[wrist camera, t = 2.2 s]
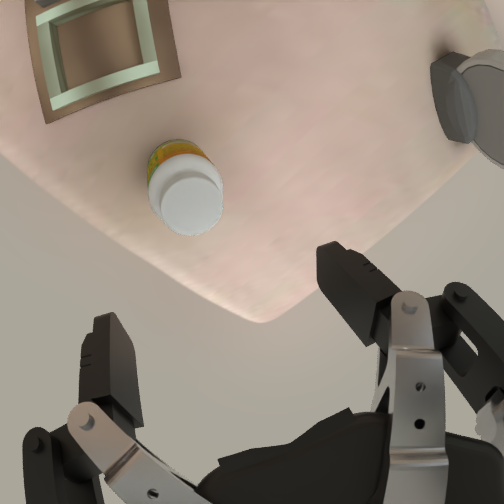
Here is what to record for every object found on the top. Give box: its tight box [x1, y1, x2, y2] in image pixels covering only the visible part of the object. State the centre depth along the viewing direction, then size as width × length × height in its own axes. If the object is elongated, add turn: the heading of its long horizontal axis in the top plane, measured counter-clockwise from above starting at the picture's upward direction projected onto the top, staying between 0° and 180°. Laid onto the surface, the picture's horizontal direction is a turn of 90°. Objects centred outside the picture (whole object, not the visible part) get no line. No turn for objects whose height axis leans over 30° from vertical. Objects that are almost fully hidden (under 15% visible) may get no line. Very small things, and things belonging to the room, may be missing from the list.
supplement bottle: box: [147, 140, 223, 236], centre depth 22 cm, size 5×5×10 cm
